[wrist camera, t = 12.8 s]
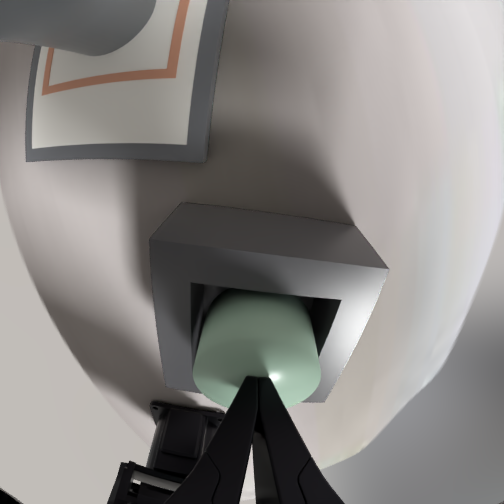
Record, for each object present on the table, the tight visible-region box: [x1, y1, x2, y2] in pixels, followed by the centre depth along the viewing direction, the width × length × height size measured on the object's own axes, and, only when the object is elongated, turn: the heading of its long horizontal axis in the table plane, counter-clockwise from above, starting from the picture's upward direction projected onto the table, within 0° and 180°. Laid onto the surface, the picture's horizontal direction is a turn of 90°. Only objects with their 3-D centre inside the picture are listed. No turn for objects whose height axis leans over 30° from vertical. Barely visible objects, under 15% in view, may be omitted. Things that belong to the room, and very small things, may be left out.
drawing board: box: [25, 0, 229, 163], centre depth 7 cm, size 14×10×1 cm
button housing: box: [149, 202, 389, 402], centre depth 12 cm, size 8×8×4 cm
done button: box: [193, 288, 321, 408], centre depth 10 cm, size 4×4×3 cm
